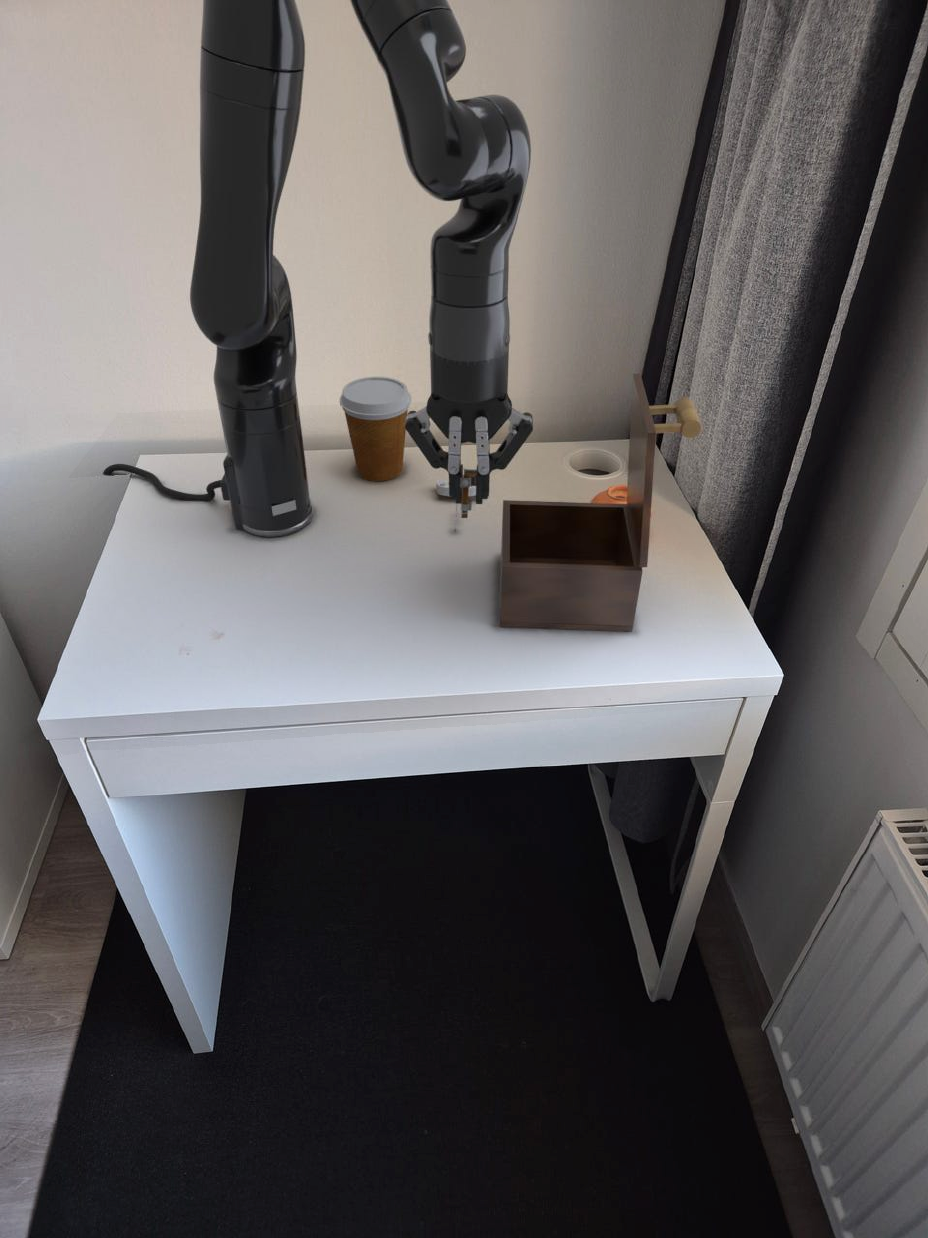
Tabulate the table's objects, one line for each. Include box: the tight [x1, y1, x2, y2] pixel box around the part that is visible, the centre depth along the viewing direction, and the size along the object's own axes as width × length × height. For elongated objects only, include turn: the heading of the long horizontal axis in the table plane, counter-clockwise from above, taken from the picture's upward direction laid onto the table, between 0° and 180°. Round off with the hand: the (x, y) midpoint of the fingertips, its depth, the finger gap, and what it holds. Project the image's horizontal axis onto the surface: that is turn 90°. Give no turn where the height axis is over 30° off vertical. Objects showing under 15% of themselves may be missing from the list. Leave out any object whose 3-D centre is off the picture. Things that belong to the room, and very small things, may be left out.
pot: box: [589, 484, 653, 518], centre depth 108 cm, size 8×8×7 cm
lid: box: [626, 372, 703, 568], centre depth 90 cm, size 15×13×6 cm
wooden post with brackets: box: [460, 468, 476, 519], centre depth 92 cm, size 2×8×4 cm, turn 173°
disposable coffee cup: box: [339, 376, 412, 482], centre depth 118 cm, size 10×10×12 cm
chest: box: [498, 499, 644, 632], centre depth 98 cm, size 15×13×8 cm
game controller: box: [436, 479, 476, 533], centre depth 114 cm, size 6×12×3 cm, turn 15°
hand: (469, 499), depth 93 cm, fingers closed on wooden post with brackets, 1 cm apart
